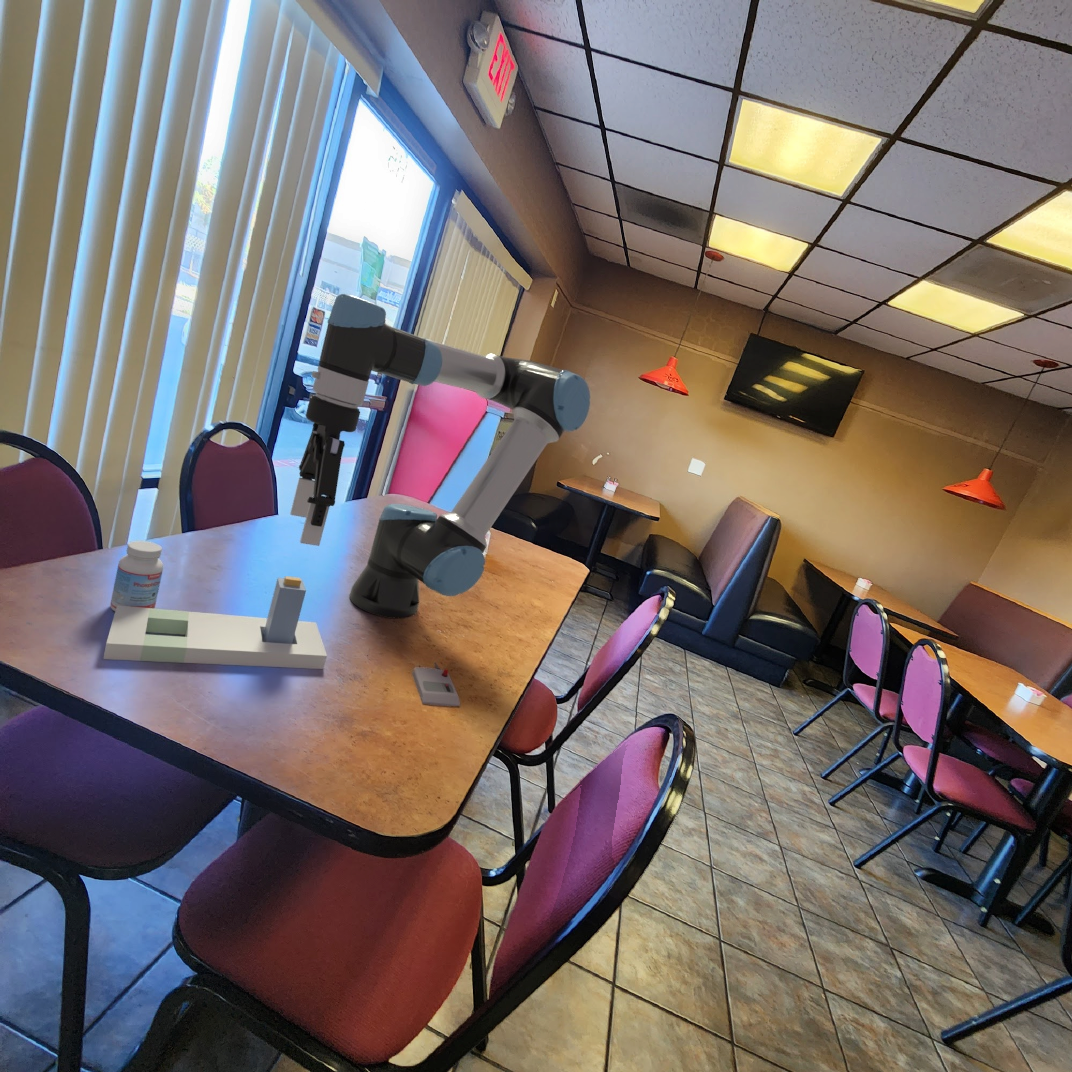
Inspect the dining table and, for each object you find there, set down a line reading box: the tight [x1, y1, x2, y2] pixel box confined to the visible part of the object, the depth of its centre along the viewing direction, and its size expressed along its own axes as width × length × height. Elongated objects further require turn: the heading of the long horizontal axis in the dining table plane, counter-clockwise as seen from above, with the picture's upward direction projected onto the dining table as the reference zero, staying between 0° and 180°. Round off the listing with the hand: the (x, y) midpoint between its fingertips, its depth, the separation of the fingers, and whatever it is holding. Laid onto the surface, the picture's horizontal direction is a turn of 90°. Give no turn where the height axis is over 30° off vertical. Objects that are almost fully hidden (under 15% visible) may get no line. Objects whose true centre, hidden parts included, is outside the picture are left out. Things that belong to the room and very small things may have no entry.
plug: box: [262, 575, 307, 644], centre depth 97 cm, size 4×4×13 cm
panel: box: [103, 605, 328, 670], centre depth 94 cm, size 30×12×2 cm, turn 119°
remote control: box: [411, 662, 461, 707], centre depth 104 cm, size 7×16×3 cm, turn 22°
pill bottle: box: [109, 540, 164, 612], centre depth 94 cm, size 6×6×11 cm
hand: (303, 529), depth 94 cm, fingers open, 13 cm apart
